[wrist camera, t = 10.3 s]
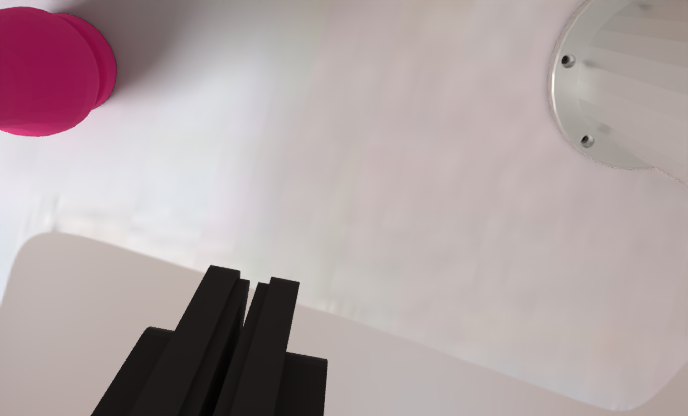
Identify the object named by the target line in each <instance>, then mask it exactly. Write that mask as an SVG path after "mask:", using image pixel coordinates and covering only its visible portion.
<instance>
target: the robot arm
mask: <svg viewBox="0 0 688 416" xmlns="http://www.w3.org/2000/svg"><path fill="white" fill-rule="evenodd" d="M563 56H566V57H567V61H566V62H565V63H562V62H561V61H562V58H563ZM547 86H548V101H549V105H550V108H551V112H552V116H553V118H554V120H555V122H556V124H557V126H558V128H559V130H560V132H561V133H562V134H563V136H564V137H565V138H566V139H567V140H568V142H569V143H570V144H571V145H572V146H573V147H575V148H576V149H577V150H578V151H580V152H581V153H582V154H584V155H585V156H587V157H589V158H590V159H592V160H594V161H595V162H598V163H601V164H603V165H606V166H609V167H612V168H619V169H626V170H641V169H651V168H657V169H659V170H660V171H662V172H664V173H666V174H667V175H669V176H671V177H672V178H674V179H676V180H678V181H679V182H681V183H683V184H684V185H686V186H688V0H586V1H585V2H584V3H583V4H582V5H581V6H580V7H579V8H578V9H577V11H576V12H575V13H574V15H573V16H572V17H571V19H570V20H569V21H568V23H567V24H566V25H565V27H564V29H563V31H562V33H561V35H560V37H559V39H558V41H557V42H556V45H555V48H554V51H553V54H552V57H551V60H550V65H549V72H548V80H547ZM584 136H586V139H585V140H584V141H581V140H582V138H583V137H584ZM299 284H300V282H296V281H291V280H286V279H281V278H276V277H271V280H270V283H269V284H266V283H261V282H258V285H257V288H256V291H255V294H254V297H253V300H252V302H251V306H250V308H249V311H248V314H247V317H246V320H245V323H244V316H245V310H246V304H247V298H248V291H249V285H250V280H245V279H240V271H239V270H234V269H229V268H224V267H219V266H213V265H210V267H209V268H208V270H207V272H206V274H205V276H204V277H203V280H202V281H201V283H200V285H199V287H198V289H197V290H196V292H195V294H194V296H193V298H192V300H191V302H190V303H189V305H188V307H187V309H186V311H185V313H184V314H183V316H182V318H181V320H180V322H179V324H178V326H177V327H176V329H175V331H172V330H166V329H161V328H156V327H148V328H147V329H146V330H145V331H144V333H143V334H142V335H141V337H140V338H139V340H138V342H137V343H136V345H135V347H134V348H133V350H132V351H131V353H130V354H129V356H128V358H127V359H126V361H125V362H124V364H123V365H122V367H121V369H120V370H119V372H118V373H117V375H116V377H115V378H114V380H113V381H112V383H111V384H110V386H109V388H108V389H107V391H106V392H105V394H104V396H103V397H102V399H101V400H100V402H99V404H98V405H97V407H96V408H95V410H94V411H93V413H92V415H91V416H323V415H324V402H325V391H326V378H327V364H328V361H327V359H322V358H317V357H312V356H306V355H301V354H296V353H290V352H286V349H287V344H288V339H289V334H290V329H291V324H292V319H293V313H294V309H295V304H296V299H297V294H298V289H299ZM243 323H244V326H243Z"/></svg>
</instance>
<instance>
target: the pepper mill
mask: <svg viewBox="0 0 688 416" xmlns="http://www.w3.org/2000/svg"><path fill="white" fill-rule="evenodd" d="M116 74H117V69H116V61H115V58H114V55H113V52H112V49H111V47H110V45H109V44H108V42H107V41H106V39H105V38H104V37H103V35H102V34H101V33H100V32H99V31H98V30H97V29H96V28H95V27H94V26H92V25H91V24H90V23H88V22H87V21H85V20H83V19H81V18H78V17H76V16H73V15H68V14H52V13H49V12H47V11H44V10H41V9H37V8H32V7H12V8H5V9H0V130H2V131H5V132H8V133H11V134H14V135H21V136H35V137H40V136H49V135H53V134H56V133H60V132H63V131H66V130H68V129H70V128H73V127H75V126H76V125H77V124H79V123H80V122H81V121H83V120H84V119H85V118H86V117H87V116H88V114H89V113H90V111H91V110H93V109H95V108H97V107H98V106H100V105H101V104H103V103H104V102H105V101H106V100H107V99H108V97H109V96H110V94H111V93H112V91H113V88H114V85H115V82H116Z"/></svg>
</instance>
